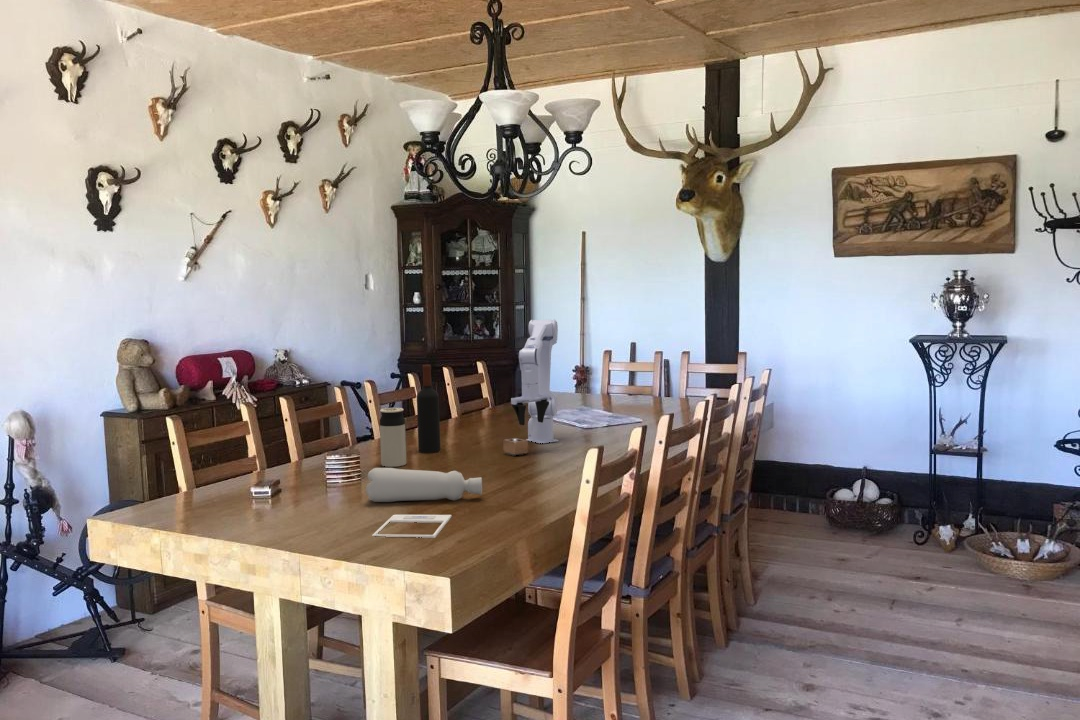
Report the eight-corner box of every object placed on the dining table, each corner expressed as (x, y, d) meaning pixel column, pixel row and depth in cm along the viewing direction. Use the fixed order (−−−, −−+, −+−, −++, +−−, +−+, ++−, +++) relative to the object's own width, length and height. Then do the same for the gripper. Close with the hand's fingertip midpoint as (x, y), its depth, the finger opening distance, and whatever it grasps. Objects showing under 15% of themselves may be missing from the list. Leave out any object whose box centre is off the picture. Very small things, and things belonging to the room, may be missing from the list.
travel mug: (381, 468, 276) (379, 411, 275) (380, 463, 284) (378, 408, 282) (407, 466, 278) (405, 410, 276) (405, 461, 285) (403, 407, 284)
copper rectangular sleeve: (503, 451, 295) (503, 439, 295) (516, 449, 298) (515, 437, 298) (515, 454, 289) (514, 442, 289) (528, 452, 292) (527, 440, 292)
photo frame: (451, 514, 216) (434, 534, 198) (451, 518, 216) (434, 539, 198) (393, 513, 218) (371, 534, 200) (393, 518, 218) (372, 539, 200)
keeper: (505, 454, 294) (504, 438, 294) (517, 452, 297) (517, 437, 297) (513, 456, 290) (513, 440, 290) (526, 454, 293) (525, 439, 293)
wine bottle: (414, 452, 301) (411, 365, 298) (425, 448, 308) (422, 363, 305) (433, 453, 298) (430, 366, 295) (444, 449, 305) (441, 363, 302)
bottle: (364, 495, 227) (479, 496, 227) (367, 462, 231) (481, 463, 231) (370, 506, 235) (481, 508, 235) (373, 475, 239) (483, 476, 239)
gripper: (518, 386, 288) (519, 427, 289) (554, 382, 296) (555, 422, 297) (507, 384, 293) (508, 424, 295) (542, 380, 302) (543, 419, 303)
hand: (531, 423), depth 296 cm, fingers open, 7 cm apart
